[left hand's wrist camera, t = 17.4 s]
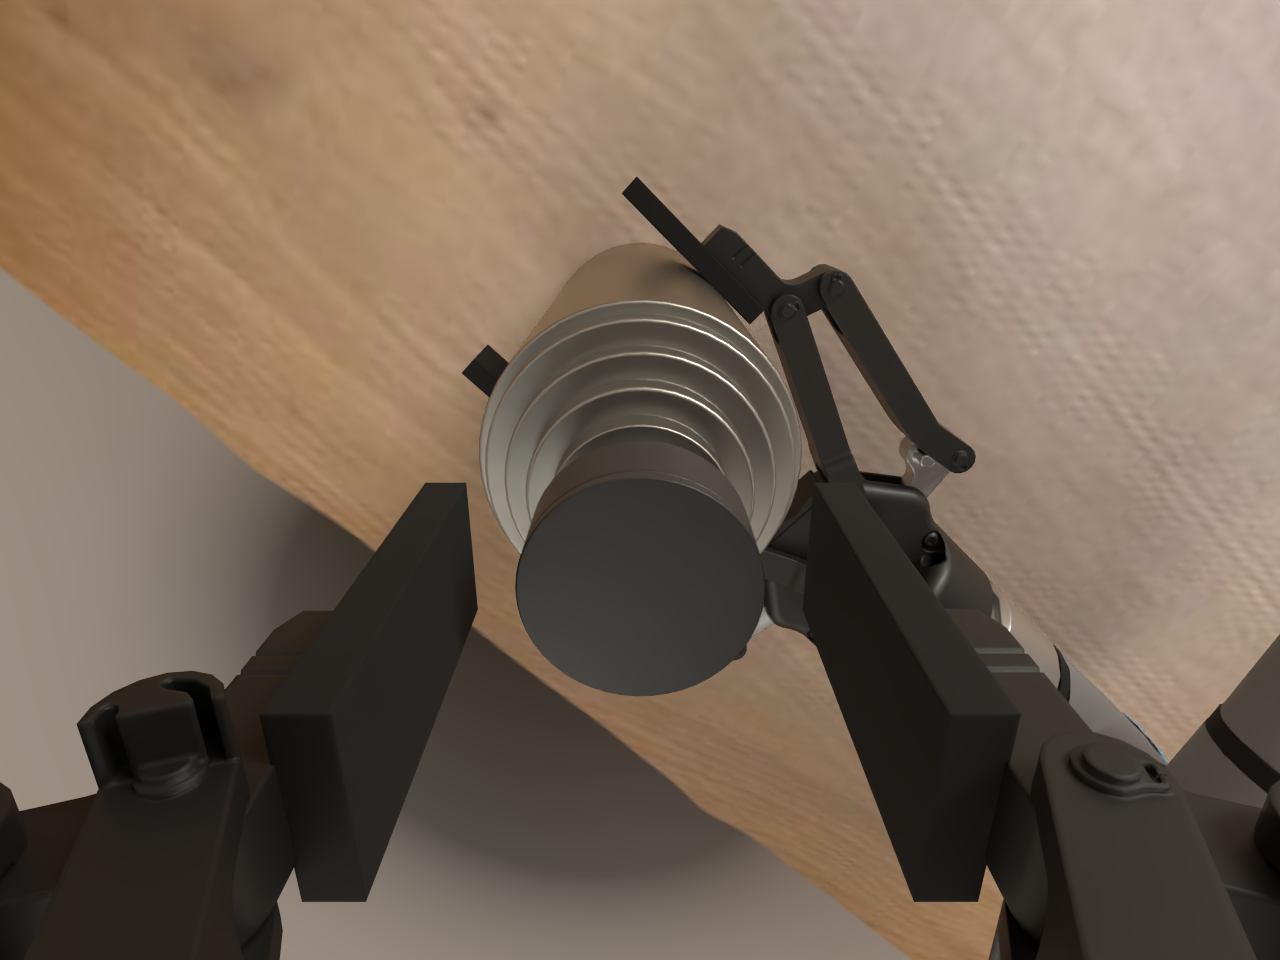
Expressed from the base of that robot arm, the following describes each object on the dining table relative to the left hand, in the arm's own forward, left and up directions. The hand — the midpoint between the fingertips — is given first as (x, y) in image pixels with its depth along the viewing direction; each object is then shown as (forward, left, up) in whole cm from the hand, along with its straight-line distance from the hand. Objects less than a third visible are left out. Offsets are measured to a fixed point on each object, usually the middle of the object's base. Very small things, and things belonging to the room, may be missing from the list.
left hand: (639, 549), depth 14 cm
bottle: (0, 0, -23) cm, 23 cm away
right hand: (-5, -1, -16) cm, 17 cm away
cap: (0, 0, +1) cm, 1 cm away
